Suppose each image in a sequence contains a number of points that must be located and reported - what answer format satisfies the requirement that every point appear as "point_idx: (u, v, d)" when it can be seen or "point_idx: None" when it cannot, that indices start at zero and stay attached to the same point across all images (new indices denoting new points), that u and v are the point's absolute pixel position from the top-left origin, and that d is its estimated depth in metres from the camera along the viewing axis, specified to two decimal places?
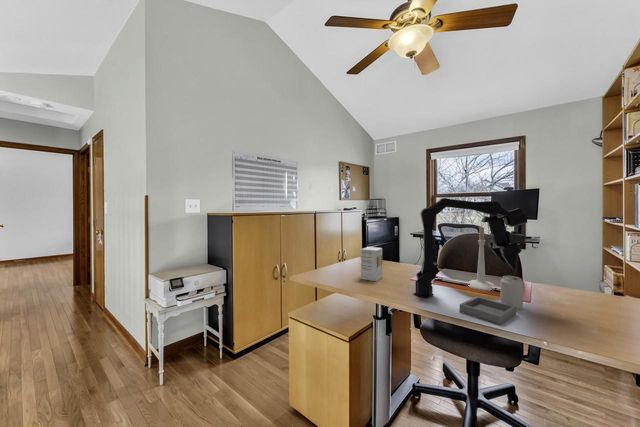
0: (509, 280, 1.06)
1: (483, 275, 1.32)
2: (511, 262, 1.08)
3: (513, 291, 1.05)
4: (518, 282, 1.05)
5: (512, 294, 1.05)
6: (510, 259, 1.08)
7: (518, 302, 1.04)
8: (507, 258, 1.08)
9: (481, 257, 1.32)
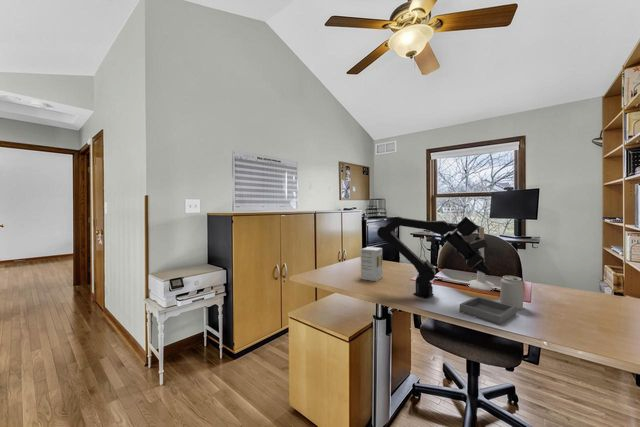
0: (509, 280, 1.06)
1: (483, 275, 1.32)
2: (484, 271, 1.07)
3: (513, 291, 1.05)
4: (518, 282, 1.05)
5: (512, 294, 1.05)
6: (481, 268, 1.07)
7: (518, 302, 1.04)
8: (477, 269, 1.07)
9: None
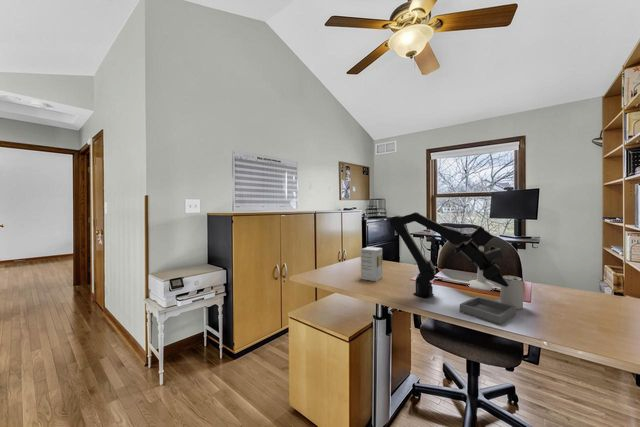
0: (509, 280, 1.06)
1: None
2: (501, 282, 1.05)
3: (513, 291, 1.05)
4: (518, 282, 1.05)
5: (512, 294, 1.05)
6: (497, 279, 1.05)
7: (518, 302, 1.04)
8: (494, 280, 1.05)
9: None
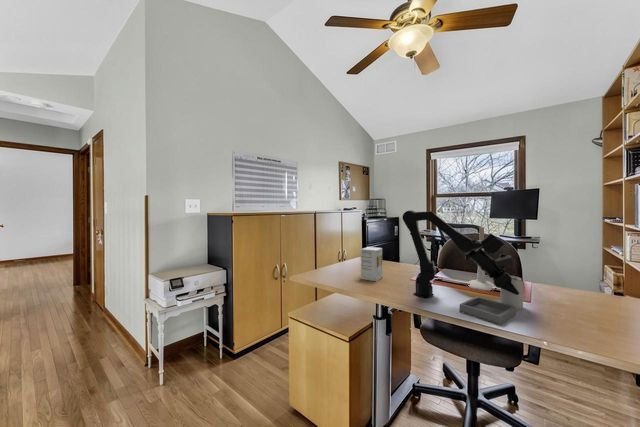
0: None
1: (483, 275, 1.32)
2: (511, 290, 1.04)
3: None
4: (518, 282, 1.05)
5: (512, 294, 1.05)
6: (508, 287, 1.04)
7: (518, 302, 1.04)
8: (504, 287, 1.04)
9: None
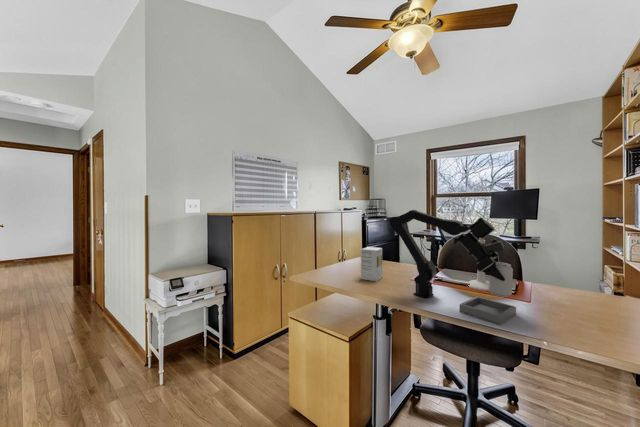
0: (496, 266, 1.02)
1: (483, 275, 1.32)
2: (497, 275, 1.01)
3: None
4: (505, 268, 1.01)
5: (498, 280, 1.01)
6: (493, 272, 1.01)
7: (505, 289, 1.01)
8: (489, 272, 1.01)
9: None
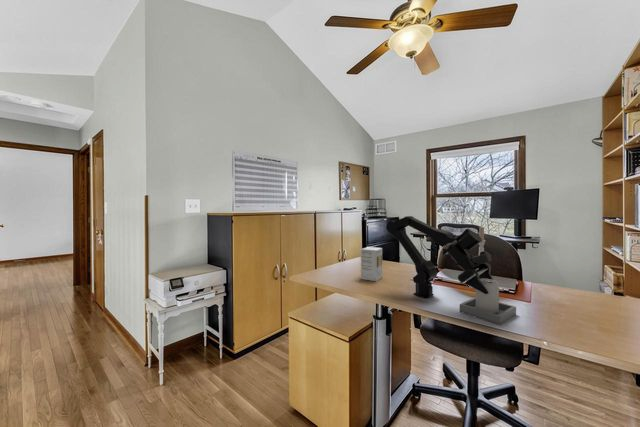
0: None
1: None
2: (480, 288, 0.99)
3: (483, 294, 1.00)
4: (489, 285, 0.99)
5: (481, 297, 1.01)
6: (476, 285, 1.00)
7: (488, 306, 0.99)
8: (472, 285, 1.01)
9: None
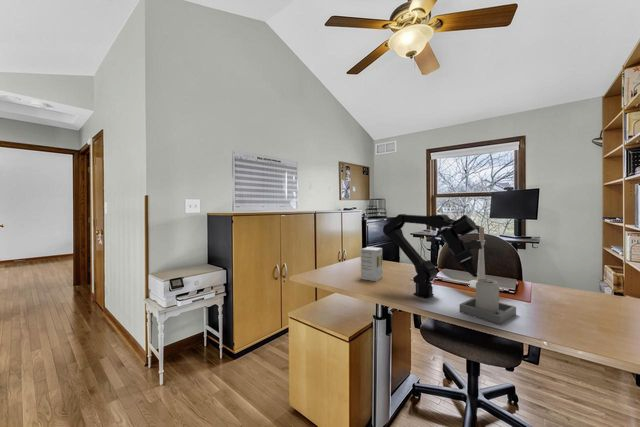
0: (480, 282, 1.01)
1: (483, 275, 1.32)
2: (471, 271, 1.02)
3: (483, 294, 1.00)
4: (489, 285, 0.99)
5: (481, 297, 1.00)
6: (468, 267, 1.03)
7: (488, 306, 0.99)
8: (464, 266, 1.03)
9: (481, 257, 1.32)
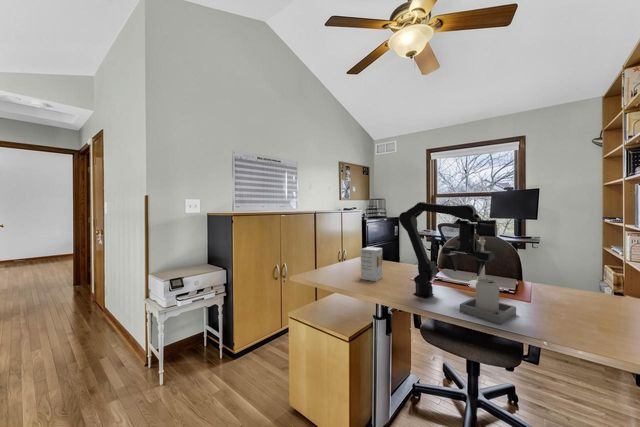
0: (480, 282, 1.01)
1: (483, 275, 1.32)
2: (479, 270, 1.06)
3: (483, 294, 1.00)
4: (489, 285, 0.99)
5: (481, 297, 1.00)
6: (480, 266, 1.05)
7: (488, 306, 0.99)
8: (480, 265, 1.04)
9: None
